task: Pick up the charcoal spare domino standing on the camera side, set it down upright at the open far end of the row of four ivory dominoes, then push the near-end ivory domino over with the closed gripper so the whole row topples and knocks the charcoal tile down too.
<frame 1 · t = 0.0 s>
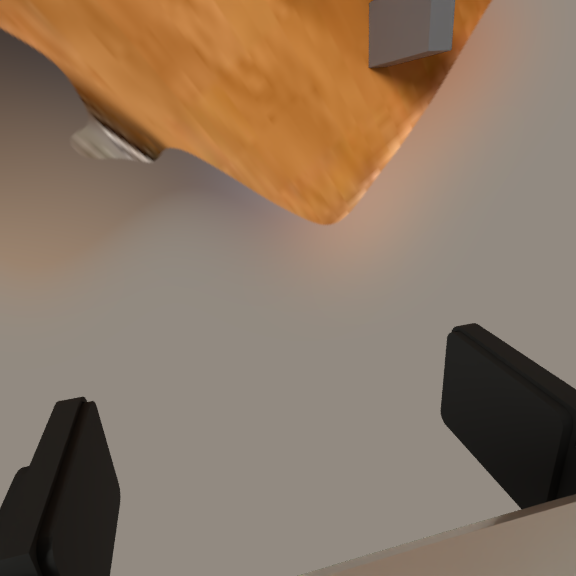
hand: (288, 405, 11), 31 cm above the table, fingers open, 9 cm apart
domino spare: (378, 35, 38), on the table
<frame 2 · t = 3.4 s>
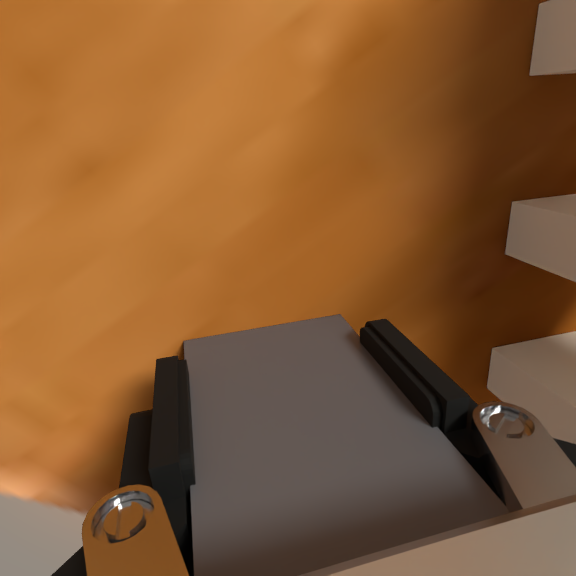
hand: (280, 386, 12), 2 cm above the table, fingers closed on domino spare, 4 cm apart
domino 3: (570, 219, 15), on the table
domino 4: (544, 356, 17), on the table
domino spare: (267, 351, 14), on the table, touching gripper
when the fingers open (3 cm above the table, at t = 8.8 s): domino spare stays where it is, on the table.
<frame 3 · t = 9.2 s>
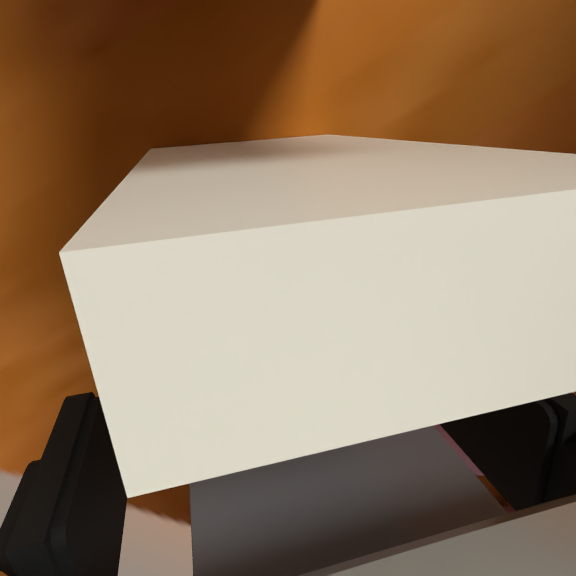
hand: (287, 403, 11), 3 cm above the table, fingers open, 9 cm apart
domino 4: (246, 174, 12), on the table
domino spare: (262, 343, 14), on the table
video game controller: (477, 444, 19), on the table
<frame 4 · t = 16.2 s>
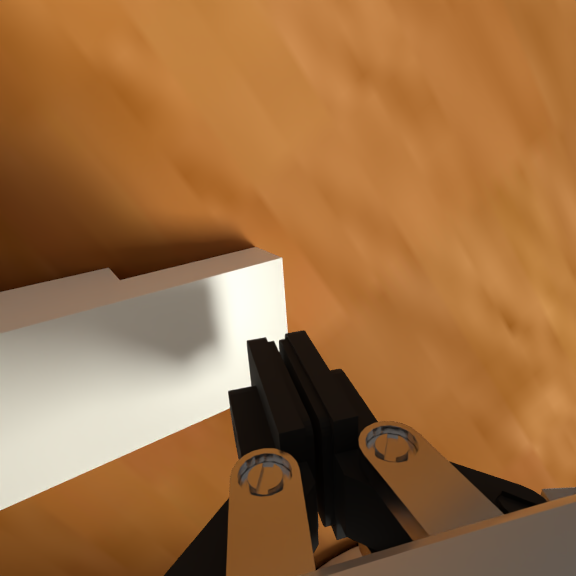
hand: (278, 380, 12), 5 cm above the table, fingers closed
domino 1: (273, 314, 16), point 1 cm above the table, tilted 70°, touching domino 2
domino 2: (129, 339, 15), point 1 cm above the table, tilted 71°, touching domino 1, domino 3
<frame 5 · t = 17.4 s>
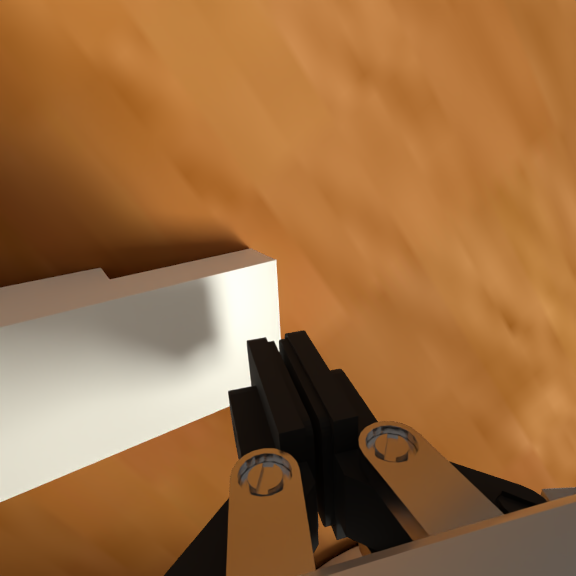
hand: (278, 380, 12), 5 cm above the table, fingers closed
domino 1: (267, 316, 16), point 1 cm above the table, tilted 71°, touching domino 2
domino 2: (120, 340, 15), point 1 cm above the table, tilted 71°, touching domino 1, domino 3
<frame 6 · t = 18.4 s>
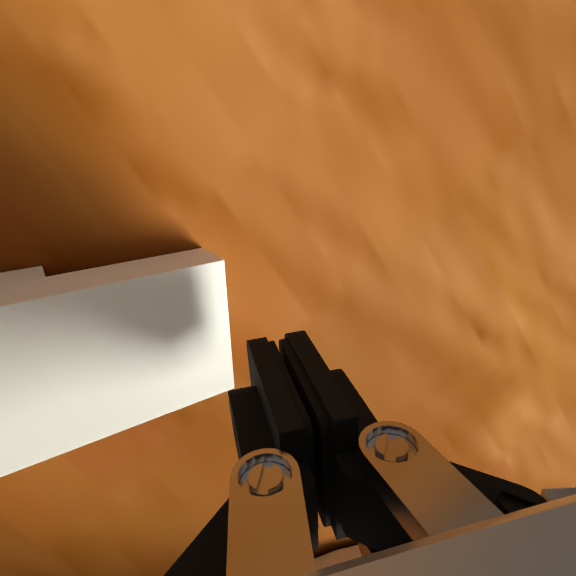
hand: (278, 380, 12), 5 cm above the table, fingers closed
domino 1: (218, 318, 16), point 1 cm above the table, tilted 70°
domino 2: (61, 342, 14), point 1 cm above the table, tilted 72°, touching domino 3
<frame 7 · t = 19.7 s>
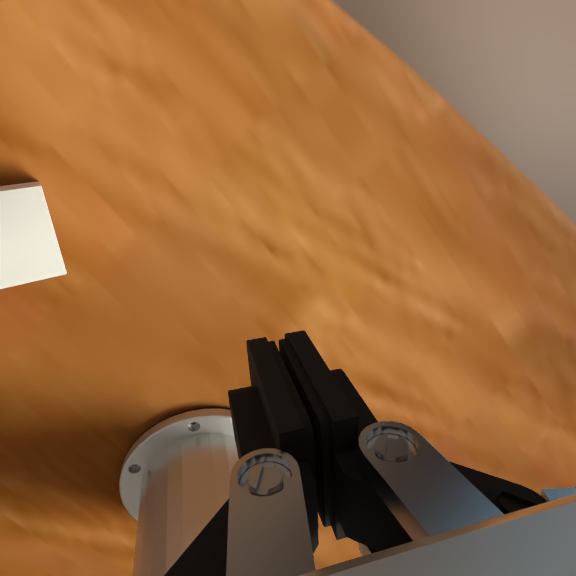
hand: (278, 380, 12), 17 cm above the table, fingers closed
domino 1: (52, 228, 24), point 1 cm above the table, tilted 71°, touching domino 2
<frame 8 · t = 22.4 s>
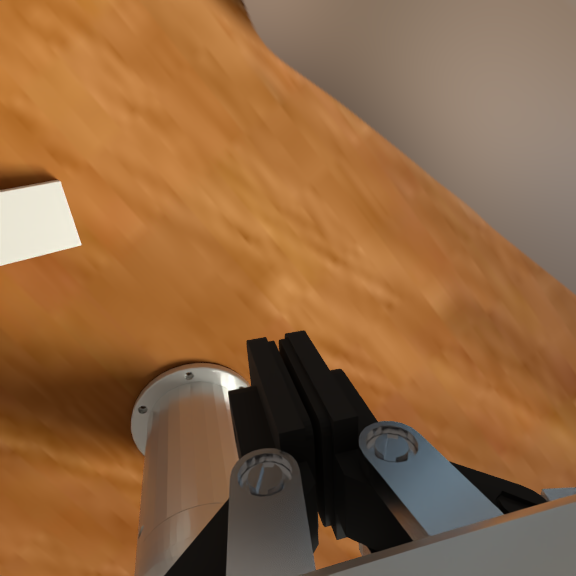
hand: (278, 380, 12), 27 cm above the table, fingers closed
domino 1: (69, 212, 33), point 1 cm above the table, tilted 72°, touching domino 2
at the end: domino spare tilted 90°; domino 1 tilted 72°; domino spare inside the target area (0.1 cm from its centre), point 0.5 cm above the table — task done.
